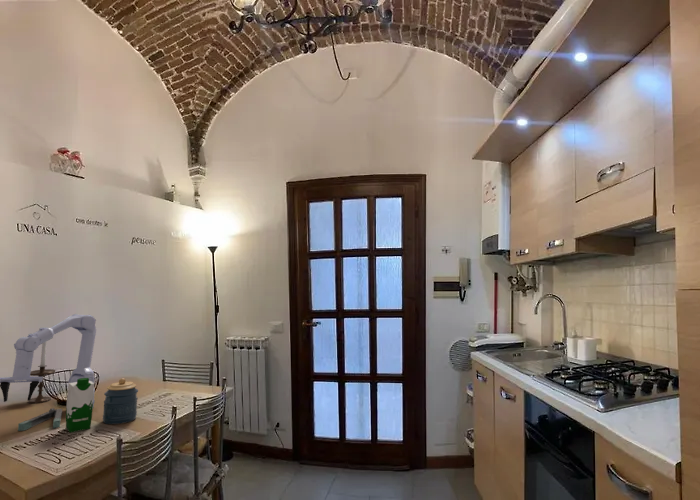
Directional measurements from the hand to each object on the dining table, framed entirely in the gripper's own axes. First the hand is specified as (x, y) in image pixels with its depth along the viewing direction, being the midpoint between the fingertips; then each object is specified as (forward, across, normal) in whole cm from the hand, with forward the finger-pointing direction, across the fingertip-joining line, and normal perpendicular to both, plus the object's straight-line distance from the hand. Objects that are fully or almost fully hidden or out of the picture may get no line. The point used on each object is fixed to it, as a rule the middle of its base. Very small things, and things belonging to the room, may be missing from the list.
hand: (17, 400), depth 167 cm
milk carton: (+10, +23, -12) cm, 28 cm away
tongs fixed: (+10, +13, +2) cm, 17 cm away
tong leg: (+10, +7, +1) cm, 12 cm away
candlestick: (+8, +2, +42) cm, 43 cm away
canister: (+9, +38, -7) cm, 40 cm away
